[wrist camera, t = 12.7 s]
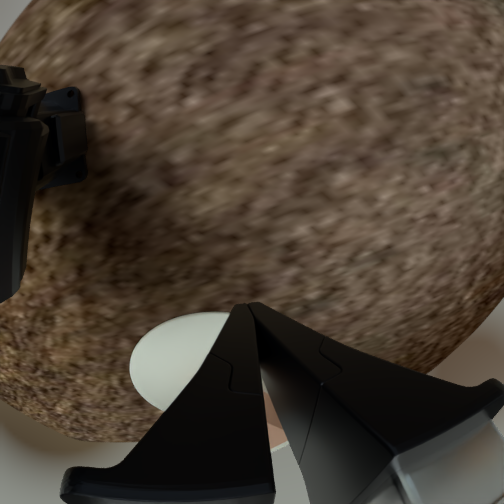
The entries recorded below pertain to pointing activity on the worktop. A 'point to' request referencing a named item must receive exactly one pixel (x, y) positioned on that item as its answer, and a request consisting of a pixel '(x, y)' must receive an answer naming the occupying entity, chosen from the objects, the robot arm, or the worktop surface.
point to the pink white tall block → (274, 426)
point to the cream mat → (174, 355)
